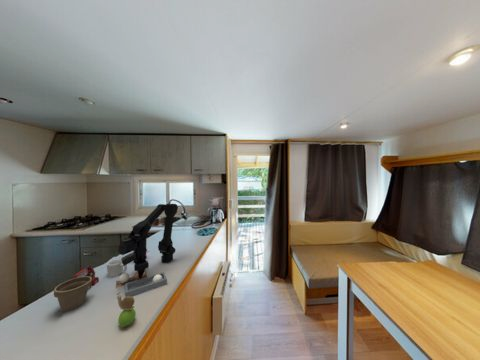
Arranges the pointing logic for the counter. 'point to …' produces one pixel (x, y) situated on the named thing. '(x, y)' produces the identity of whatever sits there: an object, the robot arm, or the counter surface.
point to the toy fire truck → (90, 273)
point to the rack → (131, 279)
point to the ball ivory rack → (124, 278)
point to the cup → (115, 267)
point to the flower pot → (72, 292)
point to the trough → (146, 287)
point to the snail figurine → (126, 310)
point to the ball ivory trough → (157, 278)
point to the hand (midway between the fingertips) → (139, 275)
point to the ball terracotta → (138, 275)
